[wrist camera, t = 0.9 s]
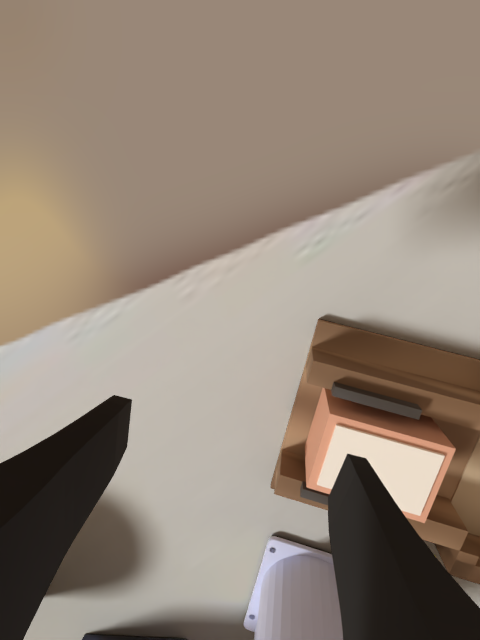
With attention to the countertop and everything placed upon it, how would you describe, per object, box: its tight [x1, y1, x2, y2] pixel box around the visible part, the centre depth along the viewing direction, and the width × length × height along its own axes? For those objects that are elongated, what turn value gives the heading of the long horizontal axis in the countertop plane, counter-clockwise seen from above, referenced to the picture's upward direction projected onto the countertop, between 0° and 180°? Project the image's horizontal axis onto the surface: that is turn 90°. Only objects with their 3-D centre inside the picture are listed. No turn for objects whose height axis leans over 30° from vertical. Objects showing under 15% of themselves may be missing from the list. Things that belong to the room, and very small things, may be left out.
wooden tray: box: [271, 319, 480, 584], centre depth 23 cm, size 13×24×4 cm, turn 77°
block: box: [305, 388, 456, 523], centre depth 23 cm, size 5×7×5 cm
